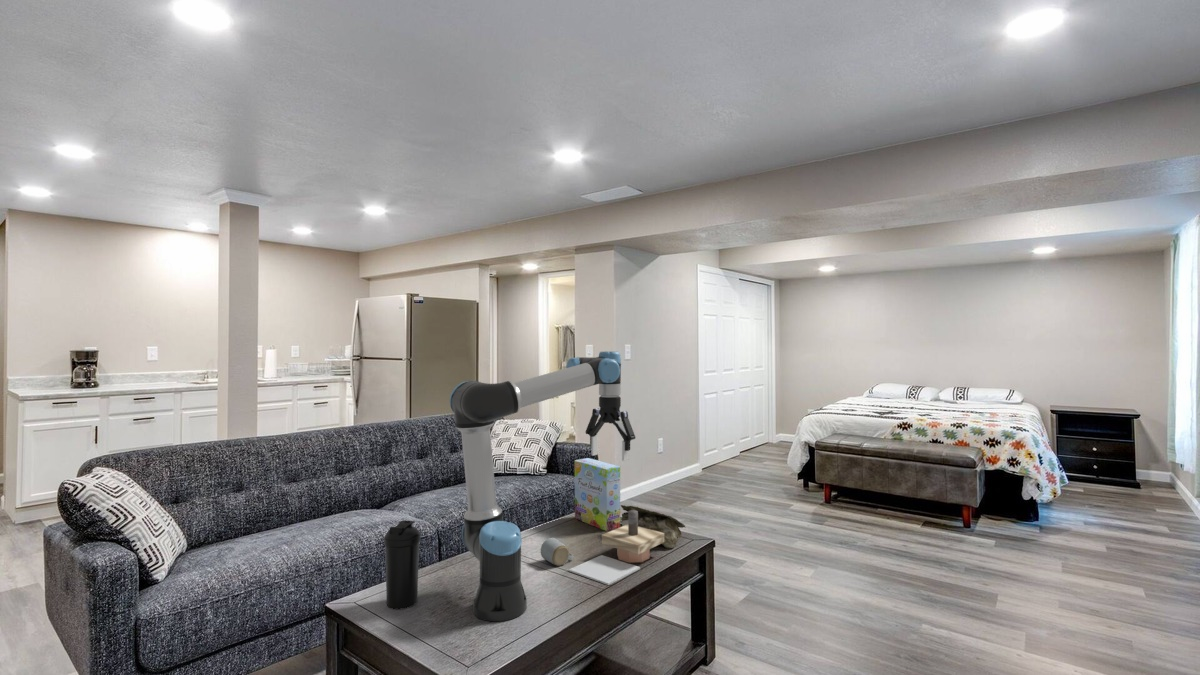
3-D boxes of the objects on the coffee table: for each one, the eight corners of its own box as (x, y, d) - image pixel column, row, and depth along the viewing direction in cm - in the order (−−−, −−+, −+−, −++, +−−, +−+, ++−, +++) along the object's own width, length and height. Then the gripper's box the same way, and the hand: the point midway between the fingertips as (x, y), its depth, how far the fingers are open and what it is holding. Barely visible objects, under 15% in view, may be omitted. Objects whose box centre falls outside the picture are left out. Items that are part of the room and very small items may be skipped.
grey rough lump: (621, 543, 231) (603, 522, 224) (635, 516, 238) (618, 495, 230) (678, 559, 211) (660, 537, 204) (691, 529, 218) (674, 506, 211)
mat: (608, 585, 180) (608, 583, 180) (568, 571, 191) (568, 569, 191) (640, 568, 193) (640, 567, 193) (601, 556, 204) (601, 555, 204)
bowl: (636, 564, 196) (636, 544, 196) (611, 557, 203) (611, 537, 203) (654, 555, 205) (654, 536, 205) (630, 548, 212) (630, 529, 212)
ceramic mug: (552, 569, 192) (553, 546, 193) (539, 561, 199) (540, 539, 199) (578, 562, 199) (578, 540, 199) (564, 555, 205) (565, 533, 206)
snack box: (572, 519, 247) (573, 459, 247) (588, 515, 252) (588, 457, 252) (605, 532, 230) (606, 468, 230) (621, 527, 236) (621, 465, 236)
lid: (637, 554, 193) (638, 521, 193) (601, 543, 203) (601, 512, 203) (664, 542, 205) (664, 510, 205) (628, 532, 215) (628, 502, 215)
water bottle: (426, 596, 171) (427, 519, 172) (408, 612, 161) (408, 530, 162) (396, 593, 173) (396, 517, 174) (376, 609, 163) (376, 528, 164)
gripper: (645, 397, 192) (645, 460, 192) (589, 393, 208) (589, 451, 208) (632, 399, 186) (632, 464, 186) (575, 394, 203) (575, 454, 202)
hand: (609, 457), depth 197 cm, fingers open, 13 cm apart
